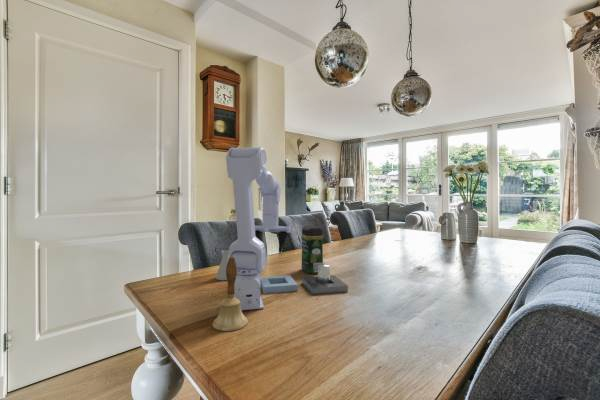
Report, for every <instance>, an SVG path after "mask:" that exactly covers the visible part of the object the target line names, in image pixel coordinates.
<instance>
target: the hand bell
mask: <svg viewBox="0 0 600 400" xmlns="http://www.w3.org/2000/svg"><path fill="white" fill-rule="evenodd" d="M236 276H237V265H236V262H235V257H229V261H228V263H227V267H226V277H227V280H226V281H227V293H226V298H225V299H222V301H221V302H220V308H219V312H218V315H217V317H216V318H215V319H214V320H213V322H212V324H211V326H212V327H213V328H214V330H216V331H217V330H218V331H221V332H232V331H239V330H242V329H243V328H245V327H246V326H247V325H248V323H249V320H248V318H247V317H246V316H245V315H244V313H243V310H241V306H240V300H239V299H236V298H235V279H236Z"/></svg>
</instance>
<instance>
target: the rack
mask: <svg viewBox="0 0 600 400" xmlns="http://www.w3.org/2000/svg"><path fill="white" fill-rule="evenodd" d="M298 287H299V285H298V283H297V282H296V281H295V280H294V278H293V277H292V276H291V274H290V275H273V276H271V275H270V276H260V289H261V290H262V293H263V294H274V293H275V294H276V293H288V292H298V291H299V290H298V289H299V288H298Z"/></svg>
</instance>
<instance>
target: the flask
mask: <svg viewBox="0 0 600 400" xmlns="http://www.w3.org/2000/svg"><path fill="white" fill-rule="evenodd" d="M220 253H221V261H220V264H219V268H218V270H217V273H216V275H215V280H217V281H227V277H226V267H227V263H228V256H229V249H228V250H221V252H220Z"/></svg>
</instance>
